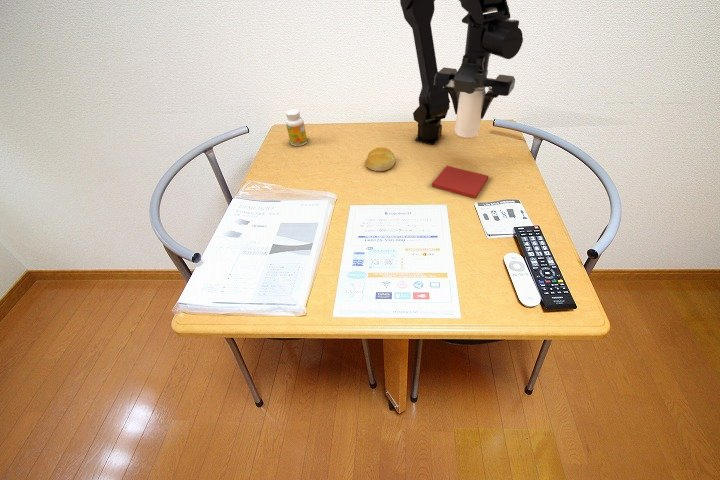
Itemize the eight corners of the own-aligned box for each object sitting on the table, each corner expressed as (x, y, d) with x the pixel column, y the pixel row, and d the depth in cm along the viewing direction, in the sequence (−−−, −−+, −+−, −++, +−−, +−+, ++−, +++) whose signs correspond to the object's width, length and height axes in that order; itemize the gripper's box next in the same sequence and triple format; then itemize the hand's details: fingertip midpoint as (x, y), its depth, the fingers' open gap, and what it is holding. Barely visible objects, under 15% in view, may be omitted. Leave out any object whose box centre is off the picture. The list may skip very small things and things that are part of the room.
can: (478, 139, 95) (487, 92, 87) (453, 138, 96) (460, 90, 87) (478, 129, 100) (487, 82, 91) (454, 127, 100) (461, 81, 92)
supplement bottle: (287, 145, 115) (279, 114, 108) (296, 137, 118) (289, 107, 111) (301, 147, 113) (295, 116, 106) (310, 139, 117) (304, 109, 110)
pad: (431, 186, 96) (431, 183, 95) (446, 168, 102) (446, 165, 101) (475, 198, 91) (475, 195, 90) (488, 179, 97) (488, 175, 96)
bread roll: (363, 171, 102) (362, 158, 99) (369, 155, 108) (369, 143, 105) (392, 173, 101) (392, 160, 98) (397, 157, 107) (397, 144, 104)
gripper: (426, 54, 82) (423, 122, 93) (508, 63, 75) (495, 135, 86) (444, 41, 89) (440, 106, 100) (522, 48, 82) (508, 117, 93)
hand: (469, 116), depth 94 cm, fingers closed on can, 6 cm apart
